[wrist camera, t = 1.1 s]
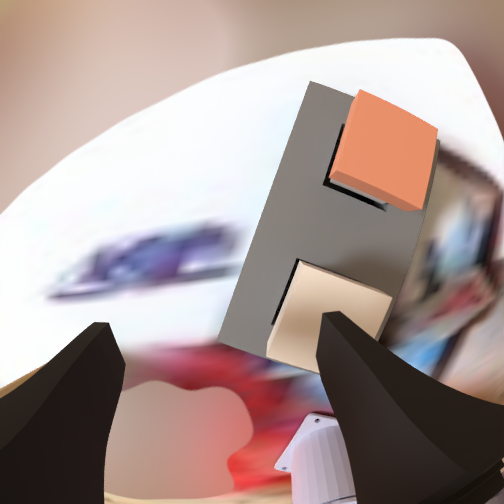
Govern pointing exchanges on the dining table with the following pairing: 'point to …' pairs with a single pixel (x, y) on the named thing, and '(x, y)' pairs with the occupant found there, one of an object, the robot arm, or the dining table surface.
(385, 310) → the cream cube block
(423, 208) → the panel
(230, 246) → the dining table surface
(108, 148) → the dining table surface
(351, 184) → the terracotta plunger
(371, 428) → the robot arm
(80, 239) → the dining table surface
